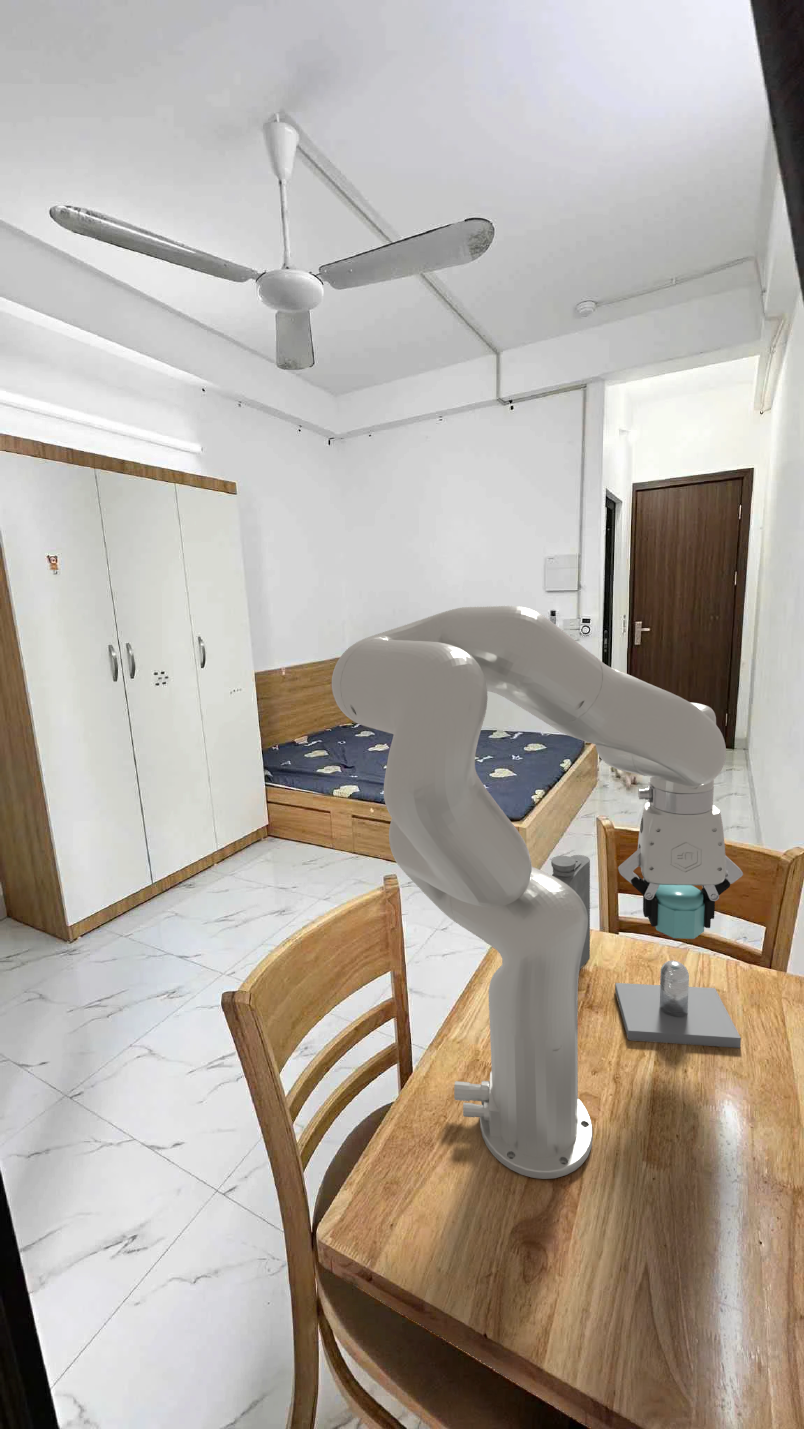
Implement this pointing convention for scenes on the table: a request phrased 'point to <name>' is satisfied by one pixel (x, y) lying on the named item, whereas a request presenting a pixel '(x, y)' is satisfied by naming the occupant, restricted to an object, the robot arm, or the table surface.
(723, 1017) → the stud base
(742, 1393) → the table surface
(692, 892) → the cap
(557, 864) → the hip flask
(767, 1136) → the table surface
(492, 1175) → the table surface
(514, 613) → the robot arm
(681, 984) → the steel stud
